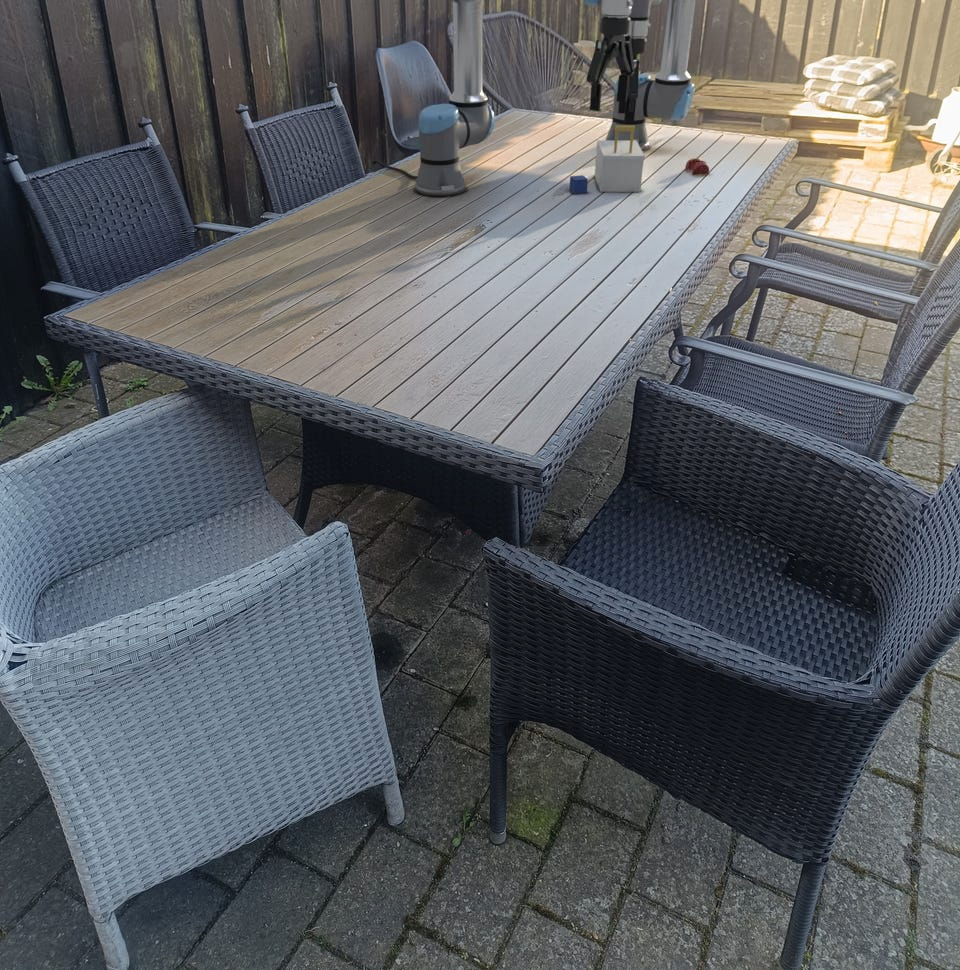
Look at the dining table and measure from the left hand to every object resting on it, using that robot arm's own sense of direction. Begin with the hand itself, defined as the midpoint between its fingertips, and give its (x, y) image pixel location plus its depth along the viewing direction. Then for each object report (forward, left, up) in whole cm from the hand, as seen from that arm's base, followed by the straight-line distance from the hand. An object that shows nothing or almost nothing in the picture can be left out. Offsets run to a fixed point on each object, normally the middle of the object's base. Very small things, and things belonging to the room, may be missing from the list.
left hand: (608, 106), depth 226 cm
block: (-15, +11, -28) cm, 34 cm away
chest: (-10, +26, -28) cm, 40 cm away
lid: (-10, +26, -18) cm, 33 cm away
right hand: (-6, +21, -8) cm, 23 cm away
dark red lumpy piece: (+4, +53, -28) cm, 60 cm away
